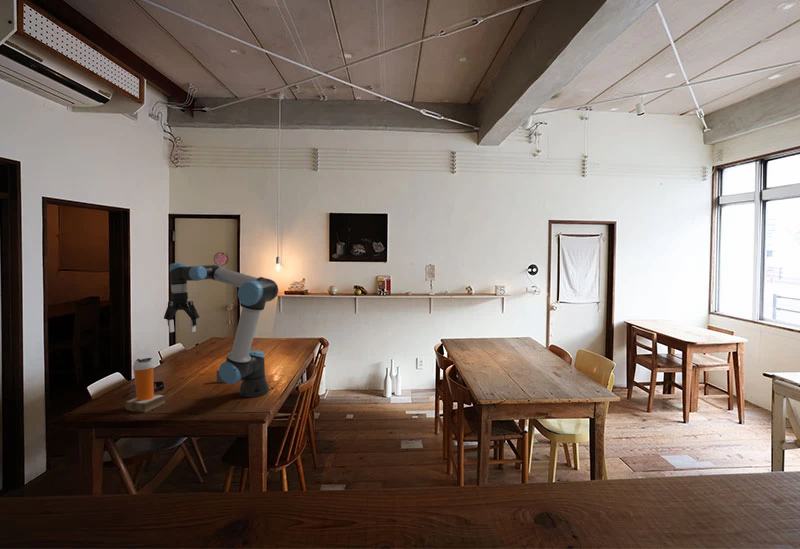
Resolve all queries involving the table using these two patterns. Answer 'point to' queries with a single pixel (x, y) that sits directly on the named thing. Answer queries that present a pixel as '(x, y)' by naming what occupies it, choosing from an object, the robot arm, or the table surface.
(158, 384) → the sunglasses
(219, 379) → the dark angular channel piece
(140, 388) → the shaker bottle
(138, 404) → the block
